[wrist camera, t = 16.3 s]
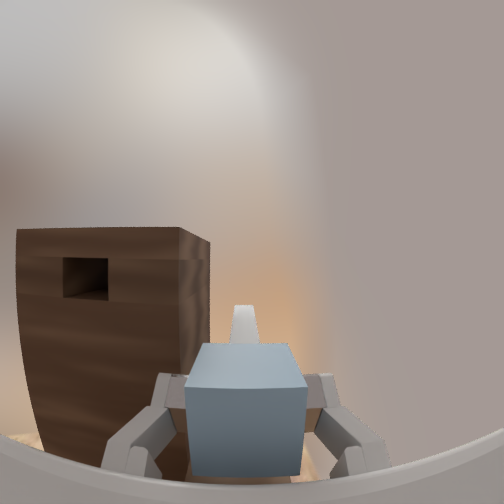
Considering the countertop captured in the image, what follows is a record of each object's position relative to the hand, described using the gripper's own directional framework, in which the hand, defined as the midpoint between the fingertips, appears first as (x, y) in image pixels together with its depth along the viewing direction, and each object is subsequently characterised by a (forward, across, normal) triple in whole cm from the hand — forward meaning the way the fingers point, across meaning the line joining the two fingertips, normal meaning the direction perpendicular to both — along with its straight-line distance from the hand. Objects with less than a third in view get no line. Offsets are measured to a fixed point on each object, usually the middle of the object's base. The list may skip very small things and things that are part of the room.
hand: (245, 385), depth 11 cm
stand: (-3, +5, +23) cm, 24 cm away
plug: (+5, 0, +5) cm, 7 cm away
